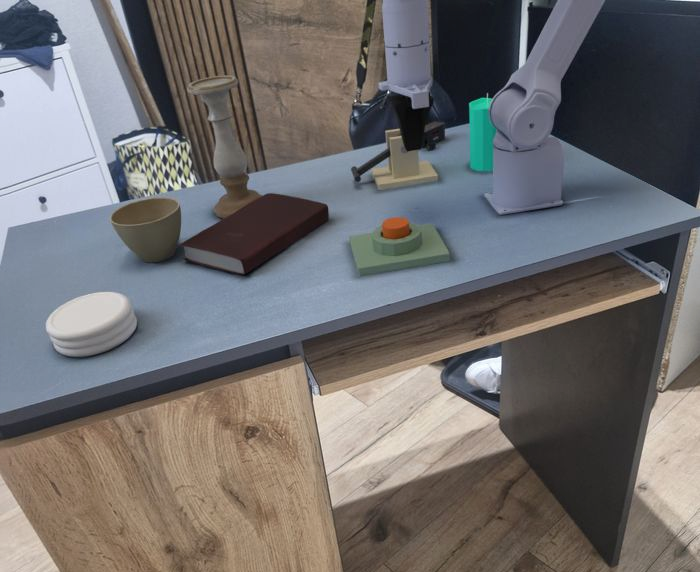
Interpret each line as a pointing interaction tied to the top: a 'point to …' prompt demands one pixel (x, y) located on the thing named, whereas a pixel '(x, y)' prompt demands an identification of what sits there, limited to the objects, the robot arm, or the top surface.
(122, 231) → the flower pot
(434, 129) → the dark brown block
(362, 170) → the lever
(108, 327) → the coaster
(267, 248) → the book
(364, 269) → the panel
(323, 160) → the top surface
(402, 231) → the button
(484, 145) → the candle
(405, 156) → the stand
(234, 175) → the candle holder
